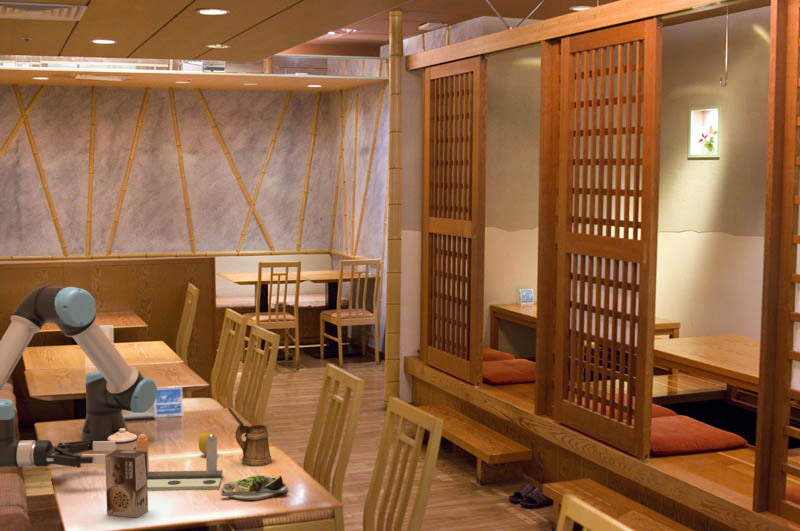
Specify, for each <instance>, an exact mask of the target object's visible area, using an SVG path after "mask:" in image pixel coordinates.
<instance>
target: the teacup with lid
mask: <svg viewBox="0 0 800 531" xmlns="http://www.w3.org/2000/svg"><path fill="white" fill-rule="evenodd" d="M138 437H139V436H137V434H135V433H132V432H129V431H128V432H127V431H126V429H125V428H121V429H119V432H117V433H115V434H114V435H111V436H109V437H108V439H107V441H116V450H132V451H137V439H138ZM112 452H113V451H107V455H108V454H110V453H112Z"/></svg>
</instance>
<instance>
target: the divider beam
mask: <svg viewBox="0 0 800 531" xmlns="http://www.w3.org/2000/svg"><path fill="white" fill-rule="evenodd" d="M205 456H206V457H205V459H206V467H205V468H206V470H174V471H173V470H172V471H171V470H170V471H169V470H168V471H167V470H165V471H164V470H161V471H160V470H159V471H148V473H147V480H156V479H212V478H221V481H222V480H223V477H224V476H223V473H224V472H223V470H220V469H219V470H218V438H217V437H216V435H215V434H213V433H212V434H209V435H208V437H207V440H206V455H205Z"/></svg>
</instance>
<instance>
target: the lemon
mask: <svg viewBox="0 0 800 531" xmlns="http://www.w3.org/2000/svg"><path fill="white" fill-rule="evenodd" d="M209 434H213V433H212V432H209V431H205V432H204V433H202V434H201V435H200V437H199V440H198V447H199V448H198V449H199V451H200V452H201V453H202V454H203V455H205V456H206V440H207V437H208V435H209Z"/></svg>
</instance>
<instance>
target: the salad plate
mask: <svg viewBox="0 0 800 531" xmlns="http://www.w3.org/2000/svg"><path fill="white" fill-rule="evenodd" d="M221 490H222V491H223V492H221V493H220V496H222V497H229V498H231V499H234V500H235V499H236V500H243V501H258V500H265V499H267V498H274V497H279V496H281V495H283V494H285V493H287V492H288V486H287V485H286V484H285V483H284V481H283V477H282V475H278V476H276V477H272V476H269V475H268V476H267V475H261V474H260V475H252V476H248V477H246V478H243V479H237V480H233V481H228V482H226V483H224V484H222V487H221ZM234 490H235V491H234Z"/></svg>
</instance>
